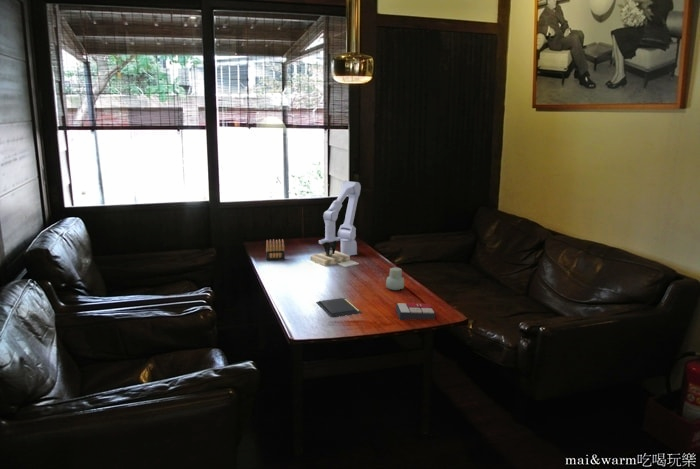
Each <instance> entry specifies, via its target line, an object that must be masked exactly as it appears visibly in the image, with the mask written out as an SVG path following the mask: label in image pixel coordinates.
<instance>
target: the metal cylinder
mask: <svg viewBox="0 0 700 469" xmlns="http://www.w3.org/2000/svg"><path fill="white" fill-rule="evenodd" d="M327 256H328V257H332V256H333V247H332V246H330V250H329V255H327Z"/></svg>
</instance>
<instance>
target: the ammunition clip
mask: <svg viewBox="0 0 700 469" xmlns="http://www.w3.org/2000/svg"><path fill="white" fill-rule="evenodd" d="M265 243H266V244H265V253H266V254H265V260H266V261H274V260H279V259H280V260H285V258H286V257H285V256H286V255H285V241H284V239H283V238H282V239H281V238H279V239H276V240H275V238H273V239H269V240H268V239H266V242H265Z"/></svg>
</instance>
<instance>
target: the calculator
mask: <svg viewBox="0 0 700 469" xmlns="http://www.w3.org/2000/svg"><path fill="white" fill-rule="evenodd" d="M396 312H397V313H396ZM395 313H396V315H397V317H399V318H398V320H399V319H400V320H399V321H408V320H407V319H435V318H436V313H435V311H434V309H433V308H432V306H431V304H430V303H416V302H415V303H413V302H411V303H410V302H407V303H403V302H401V303H399V302H398V303H396V305H395ZM405 319H406V320H405ZM435 320H436V319H435Z"/></svg>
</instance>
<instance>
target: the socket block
mask: <svg viewBox="0 0 700 469" xmlns="http://www.w3.org/2000/svg"><path fill="white" fill-rule="evenodd" d="M340 252H341V251H338V250H335V252H334V254H333V256H332V257H328V256H327V255H326V252H321V253H317V254H312V255H311V254H310V257H309V258H310V259H309V261H311V262H313V263H316V264H318V265H320V266H324V267H326V266H327V267H328V266H331V265H332V266H333V265H338V263H342V262H346V261H351V258H350V257H351V256H349V255H346V254H343V253H340Z"/></svg>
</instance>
